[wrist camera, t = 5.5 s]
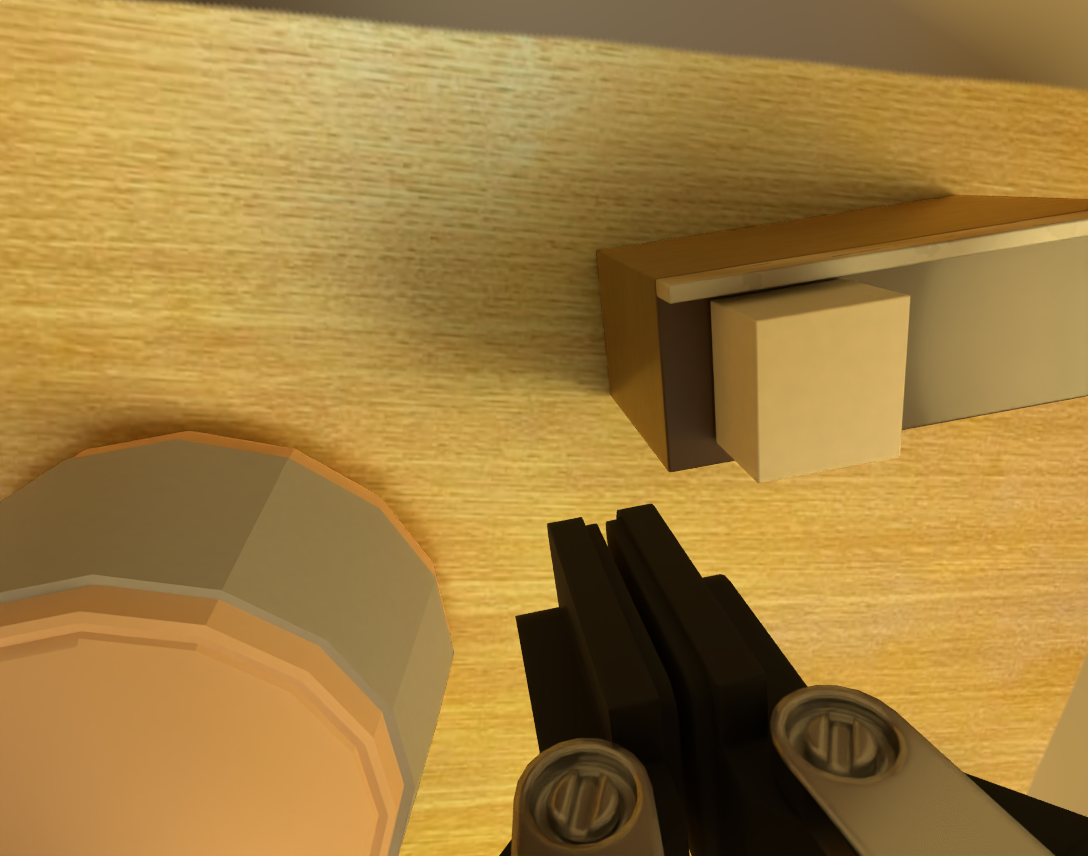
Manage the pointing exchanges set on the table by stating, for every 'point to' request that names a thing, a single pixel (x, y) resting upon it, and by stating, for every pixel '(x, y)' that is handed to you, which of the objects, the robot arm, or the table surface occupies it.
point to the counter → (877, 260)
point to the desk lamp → (212, 656)
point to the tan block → (809, 377)
